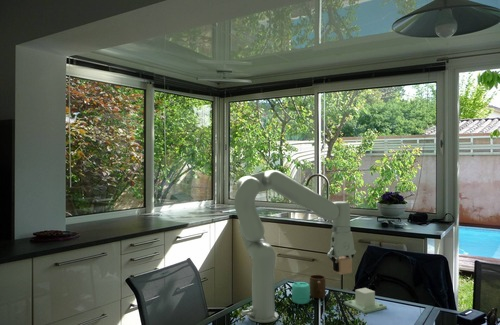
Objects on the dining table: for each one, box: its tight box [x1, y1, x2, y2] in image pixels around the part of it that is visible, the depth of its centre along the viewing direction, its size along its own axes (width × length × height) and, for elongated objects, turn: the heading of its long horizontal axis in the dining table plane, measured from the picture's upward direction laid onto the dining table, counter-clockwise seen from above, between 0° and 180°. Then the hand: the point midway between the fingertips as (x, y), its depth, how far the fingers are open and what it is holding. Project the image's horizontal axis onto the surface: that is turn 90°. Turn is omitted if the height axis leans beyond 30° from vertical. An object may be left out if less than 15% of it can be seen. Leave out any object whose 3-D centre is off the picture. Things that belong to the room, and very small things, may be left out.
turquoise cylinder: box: [291, 281, 311, 305], centre depth 188 cm, size 8×8×8 cm
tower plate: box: [343, 287, 387, 314], centre depth 181 cm, size 13×13×7 cm
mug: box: [309, 274, 326, 299], centre depth 193 cm, size 12×8×9 cm, turn 178°
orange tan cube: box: [331, 256, 353, 275], centre depth 176 cm, size 6×6×6 cm
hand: (342, 269), depth 176 cm, fingers closed on orange tan cube, 6 cm apart
